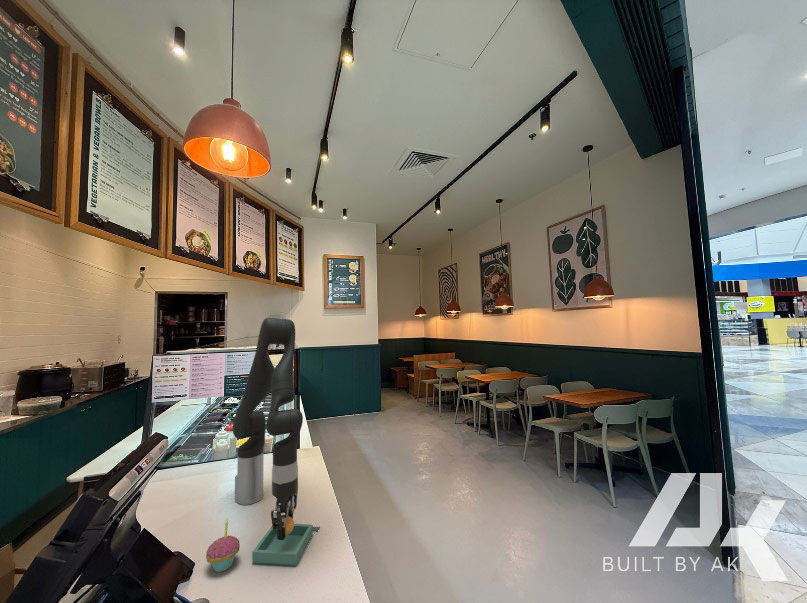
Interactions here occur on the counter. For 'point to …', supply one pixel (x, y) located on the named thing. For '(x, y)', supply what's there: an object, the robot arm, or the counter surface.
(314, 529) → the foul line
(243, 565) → the counter surface
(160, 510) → the counter surface
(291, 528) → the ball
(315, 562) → the counter surface
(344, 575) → the counter surface
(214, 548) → the cupcake
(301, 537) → the tray
